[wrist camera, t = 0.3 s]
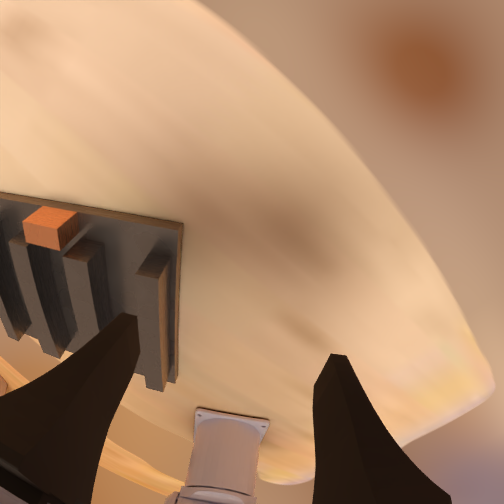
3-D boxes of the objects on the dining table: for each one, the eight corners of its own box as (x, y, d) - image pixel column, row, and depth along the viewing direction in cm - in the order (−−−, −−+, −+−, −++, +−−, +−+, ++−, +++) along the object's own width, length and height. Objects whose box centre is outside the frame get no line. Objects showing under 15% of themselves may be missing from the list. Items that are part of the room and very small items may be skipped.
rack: (177, 375, 28) (168, 404, 25) (27, 327, 28) (12, 348, 25) (182, 223, 20) (165, 251, 17) (-9, 190, 20) (-36, 208, 17)
